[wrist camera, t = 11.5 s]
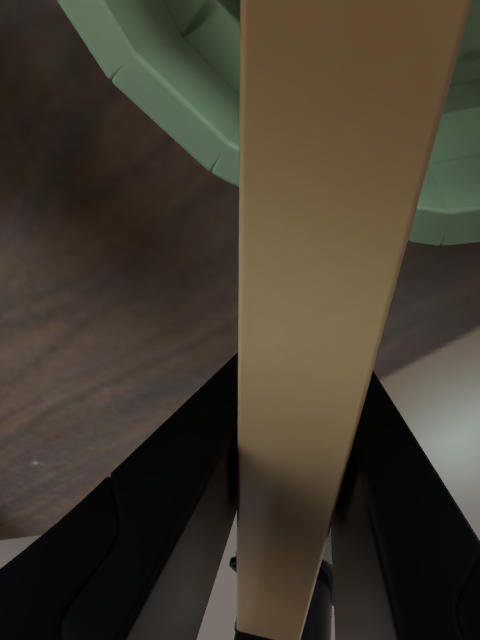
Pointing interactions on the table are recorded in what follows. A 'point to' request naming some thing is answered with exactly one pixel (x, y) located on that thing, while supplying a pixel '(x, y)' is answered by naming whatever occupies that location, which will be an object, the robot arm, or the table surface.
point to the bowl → (224, 96)
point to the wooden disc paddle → (320, 258)
